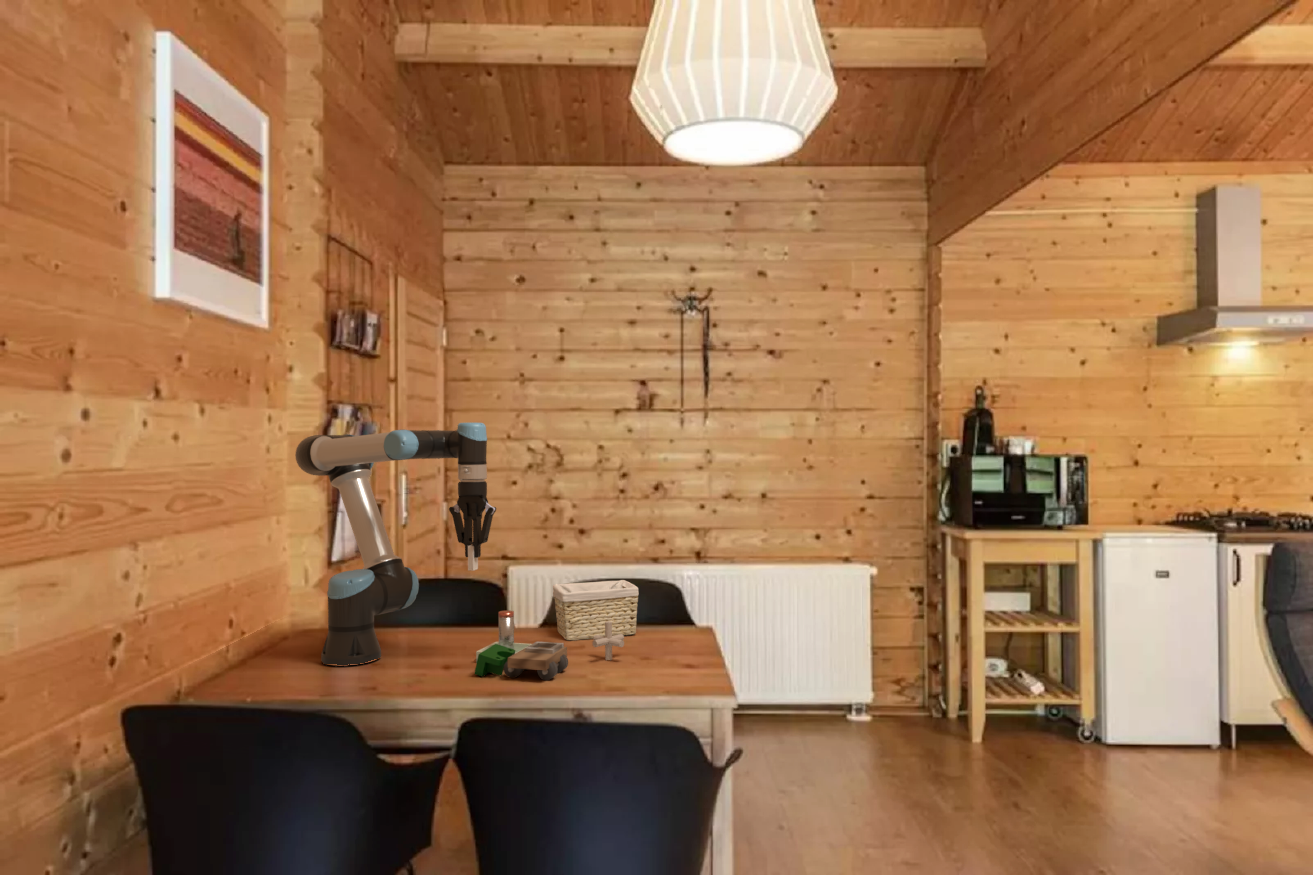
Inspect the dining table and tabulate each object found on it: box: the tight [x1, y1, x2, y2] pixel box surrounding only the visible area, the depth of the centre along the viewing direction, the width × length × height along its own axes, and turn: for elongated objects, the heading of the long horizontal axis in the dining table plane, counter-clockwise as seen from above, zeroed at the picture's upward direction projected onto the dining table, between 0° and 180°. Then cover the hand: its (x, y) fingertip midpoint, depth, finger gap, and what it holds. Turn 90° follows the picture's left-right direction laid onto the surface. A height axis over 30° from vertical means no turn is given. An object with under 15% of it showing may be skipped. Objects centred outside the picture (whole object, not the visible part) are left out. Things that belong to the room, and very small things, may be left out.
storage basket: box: [552, 579, 639, 641], centre depth 261 cm, size 24×16×15 cm
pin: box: [498, 610, 515, 649], centre depth 231 cm, size 4×4×12 cm
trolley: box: [503, 641, 569, 681], centre depth 215 cm, size 13×14×6 cm
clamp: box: [474, 644, 515, 678], centre depth 218 cm, size 12×6×9 cm, turn 163°
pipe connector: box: [592, 621, 625, 661], centre depth 229 cm, size 10×10×10 cm
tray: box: [475, 641, 533, 664], centre depth 231 cm, size 12×12×3 cm
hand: (472, 569), depth 228 cm, fingers closed
